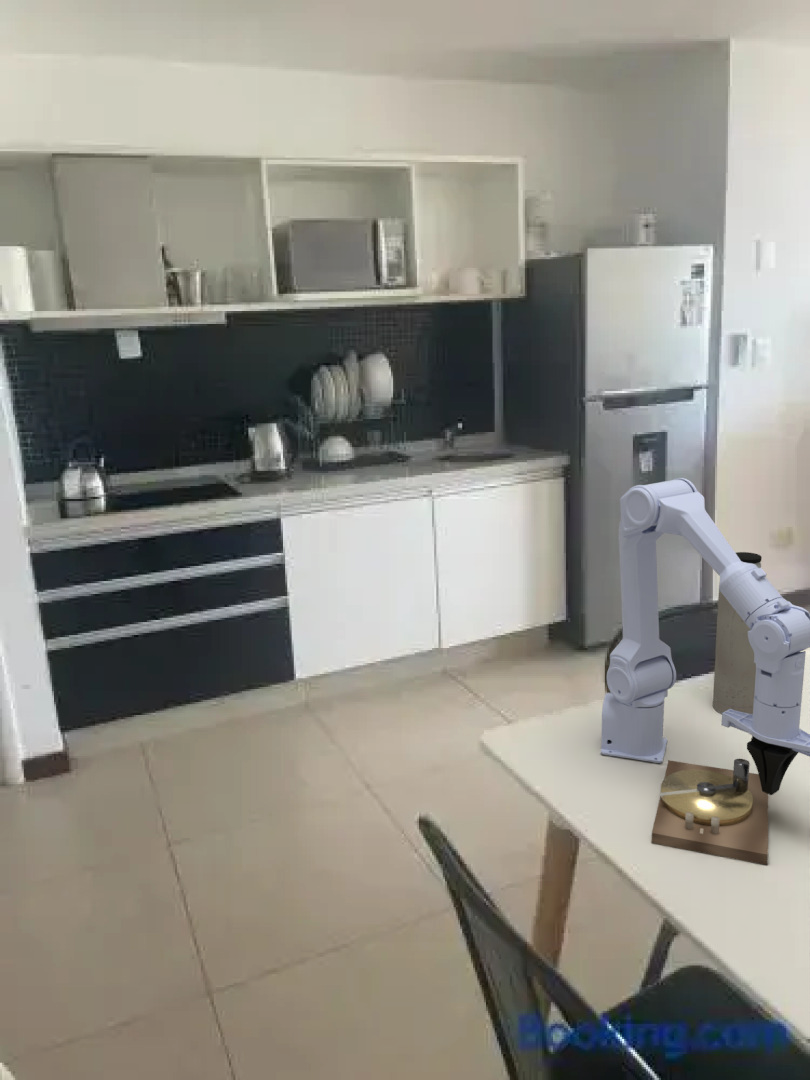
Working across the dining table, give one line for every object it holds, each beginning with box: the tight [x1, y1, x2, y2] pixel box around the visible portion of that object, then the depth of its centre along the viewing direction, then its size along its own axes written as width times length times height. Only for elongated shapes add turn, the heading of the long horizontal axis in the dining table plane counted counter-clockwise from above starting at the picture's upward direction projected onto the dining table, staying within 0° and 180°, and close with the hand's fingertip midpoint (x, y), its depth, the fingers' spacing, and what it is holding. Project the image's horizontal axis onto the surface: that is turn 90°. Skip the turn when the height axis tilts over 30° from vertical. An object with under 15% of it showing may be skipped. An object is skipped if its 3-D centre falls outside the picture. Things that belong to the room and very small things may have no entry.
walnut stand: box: [651, 760, 769, 866], centre depth 116 cm, size 14×20×4 cm
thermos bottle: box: [712, 551, 767, 715], centre depth 143 cm, size 8×8×28 cm
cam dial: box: [659, 758, 753, 826], centre depth 116 cm, size 12×12×5 cm
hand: (770, 790), depth 113 cm, fingers closed
